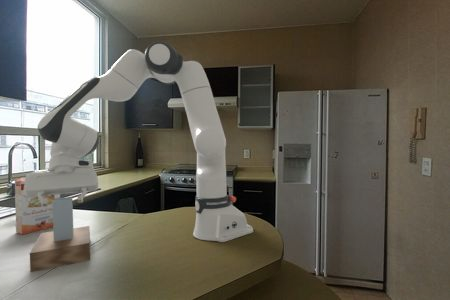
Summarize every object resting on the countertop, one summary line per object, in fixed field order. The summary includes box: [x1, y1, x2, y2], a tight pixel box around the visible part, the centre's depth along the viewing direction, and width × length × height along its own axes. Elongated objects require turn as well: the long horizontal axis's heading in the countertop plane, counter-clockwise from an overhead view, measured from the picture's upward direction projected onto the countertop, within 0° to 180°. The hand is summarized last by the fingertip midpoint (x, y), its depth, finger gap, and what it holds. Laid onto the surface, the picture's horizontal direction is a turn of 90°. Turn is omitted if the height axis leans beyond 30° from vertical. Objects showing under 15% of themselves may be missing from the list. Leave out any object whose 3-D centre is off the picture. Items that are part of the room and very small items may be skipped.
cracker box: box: [14, 178, 61, 236], centre depth 103 cm, size 14×6×21 cm, turn 149°
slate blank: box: [52, 196, 74, 242], centre depth 79 cm, size 5×5×12 cm
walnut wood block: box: [29, 225, 91, 273], centre depth 79 cm, size 14×18×5 cm
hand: (62, 203), depth 78 cm, fingers open, 8 cm apart
